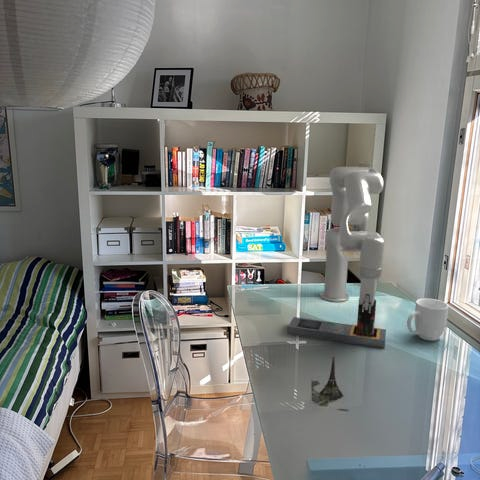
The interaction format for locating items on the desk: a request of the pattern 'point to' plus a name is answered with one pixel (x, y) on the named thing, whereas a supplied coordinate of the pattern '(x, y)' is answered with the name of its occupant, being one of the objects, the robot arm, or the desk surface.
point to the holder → (335, 332)
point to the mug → (429, 318)
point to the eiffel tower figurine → (327, 390)
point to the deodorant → (363, 327)
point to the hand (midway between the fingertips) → (366, 318)
